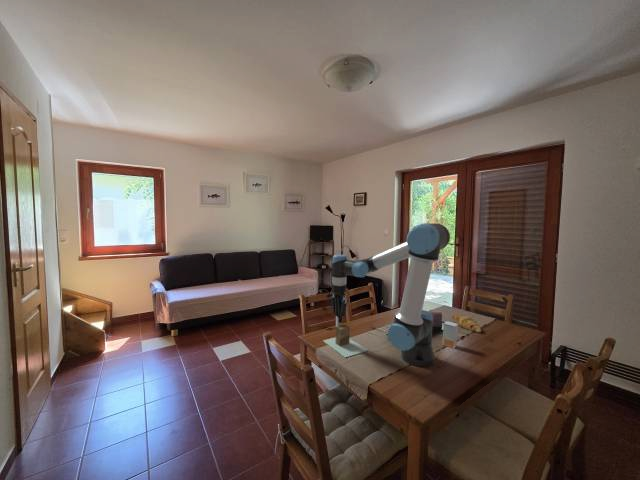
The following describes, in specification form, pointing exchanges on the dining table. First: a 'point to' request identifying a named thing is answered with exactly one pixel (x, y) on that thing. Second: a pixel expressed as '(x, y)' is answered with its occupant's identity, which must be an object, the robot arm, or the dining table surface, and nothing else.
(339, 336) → the walnut block
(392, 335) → the robot arm
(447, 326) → the skincare box
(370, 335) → the dining table surface
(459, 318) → the croissant
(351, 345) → the mat
